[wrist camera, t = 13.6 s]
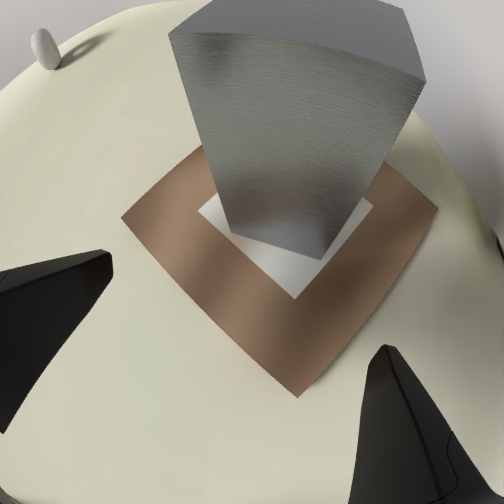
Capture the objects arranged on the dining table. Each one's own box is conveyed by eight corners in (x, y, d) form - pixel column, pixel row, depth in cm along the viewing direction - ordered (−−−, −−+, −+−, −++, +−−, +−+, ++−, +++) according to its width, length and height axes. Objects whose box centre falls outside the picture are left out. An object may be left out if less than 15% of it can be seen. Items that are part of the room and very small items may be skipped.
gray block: (320, 260, 15) (426, 81, 4) (230, 232, 16) (168, 33, 4) (339, 183, 17) (402, 9, 5) (260, 160, 18) (249, -22, 6)
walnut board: (428, 216, 18) (438, 207, 16) (294, 392, 15) (297, 398, 13) (275, 103, 22) (275, 90, 20) (129, 225, 19) (120, 217, 17)
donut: (64, 68, 29) (42, 30, 19) (49, 80, 28) (24, 43, 19) (63, 54, 32) (45, 21, 22) (49, 64, 31) (30, 32, 22)
